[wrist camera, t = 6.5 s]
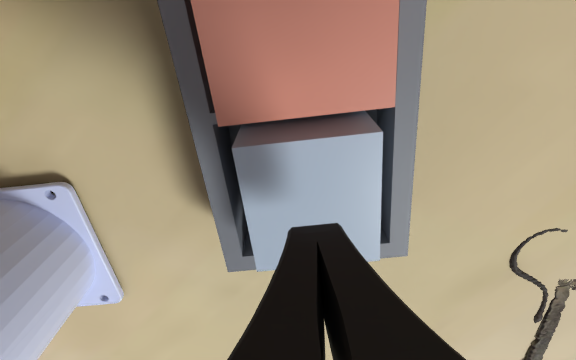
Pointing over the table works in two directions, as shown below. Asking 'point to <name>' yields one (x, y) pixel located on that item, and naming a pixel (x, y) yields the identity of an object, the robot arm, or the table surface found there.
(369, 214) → the light blue square block
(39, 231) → the robot arm
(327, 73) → the brick key
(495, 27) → the table surface
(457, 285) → the table surface
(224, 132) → the key housing
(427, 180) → the table surface
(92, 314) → the table surface
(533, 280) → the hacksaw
